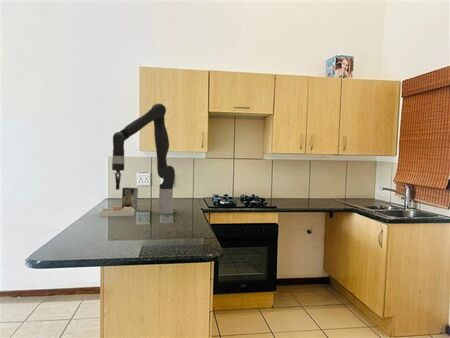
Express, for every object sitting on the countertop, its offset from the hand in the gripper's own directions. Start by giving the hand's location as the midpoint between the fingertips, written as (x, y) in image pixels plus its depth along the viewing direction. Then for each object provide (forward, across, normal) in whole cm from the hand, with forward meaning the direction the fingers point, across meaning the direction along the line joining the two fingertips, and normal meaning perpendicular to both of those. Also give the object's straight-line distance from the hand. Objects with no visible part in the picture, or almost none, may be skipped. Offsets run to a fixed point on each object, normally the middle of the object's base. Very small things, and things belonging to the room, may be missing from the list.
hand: (117, 189), depth 206 cm
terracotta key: (+14, 0, 0) cm, 14 cm away
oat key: (+15, 0, -7) cm, 17 cm away
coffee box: (+17, +18, -9) cm, 27 cm away
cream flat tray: (+17, 0, 0) cm, 17 cm away
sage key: (+15, 0, +6) cm, 16 cm away
